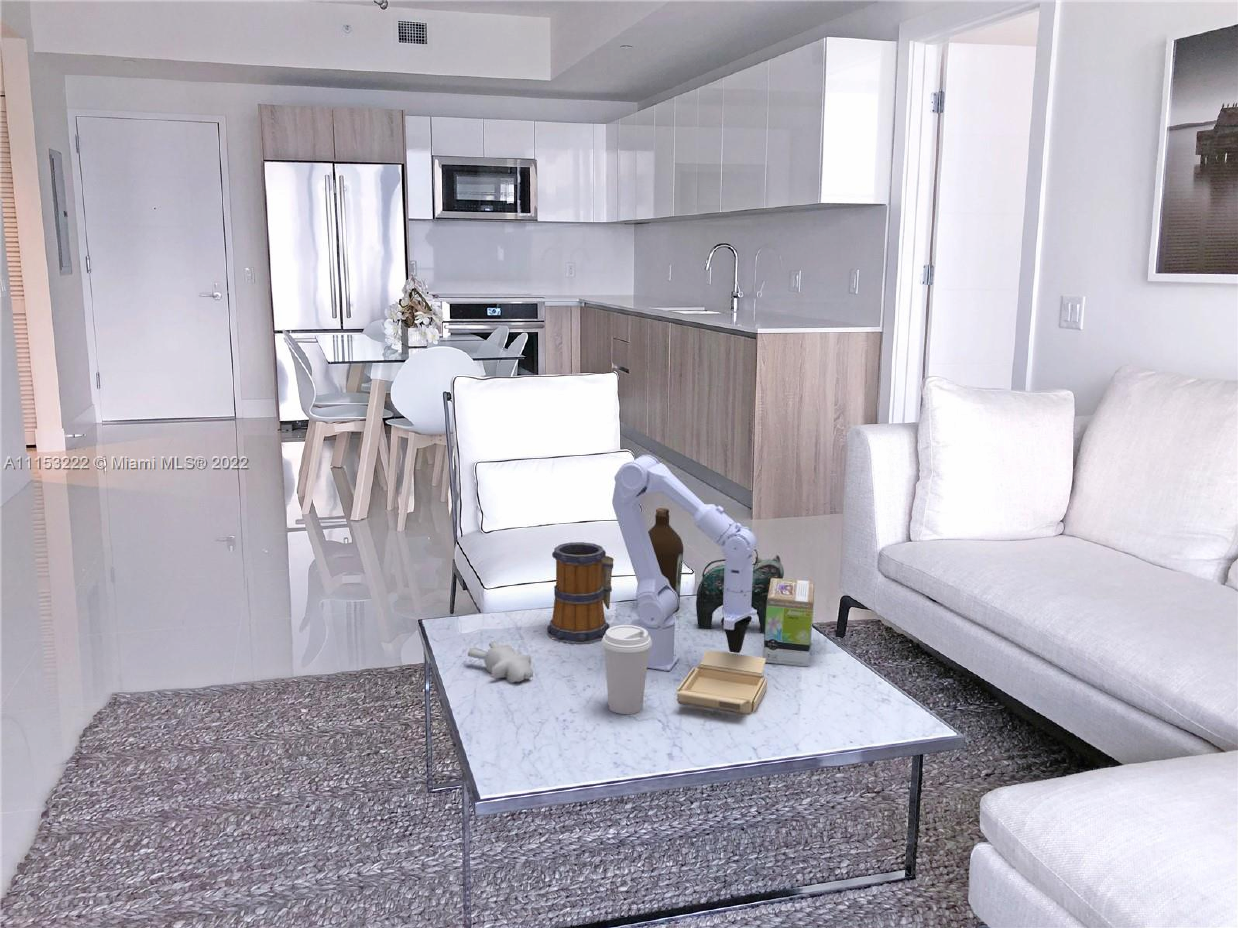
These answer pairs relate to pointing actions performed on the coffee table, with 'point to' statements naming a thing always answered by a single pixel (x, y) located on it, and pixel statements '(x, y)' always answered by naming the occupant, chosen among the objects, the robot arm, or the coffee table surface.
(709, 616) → the green animal figurine
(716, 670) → the carton
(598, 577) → the mug
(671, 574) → the olive oil
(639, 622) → the robot arm
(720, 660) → the flap far
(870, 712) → the coffee table surface
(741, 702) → the flap near
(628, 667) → the coffee cup
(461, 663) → the coffee table surface
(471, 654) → the bunny figurine
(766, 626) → the tea box
